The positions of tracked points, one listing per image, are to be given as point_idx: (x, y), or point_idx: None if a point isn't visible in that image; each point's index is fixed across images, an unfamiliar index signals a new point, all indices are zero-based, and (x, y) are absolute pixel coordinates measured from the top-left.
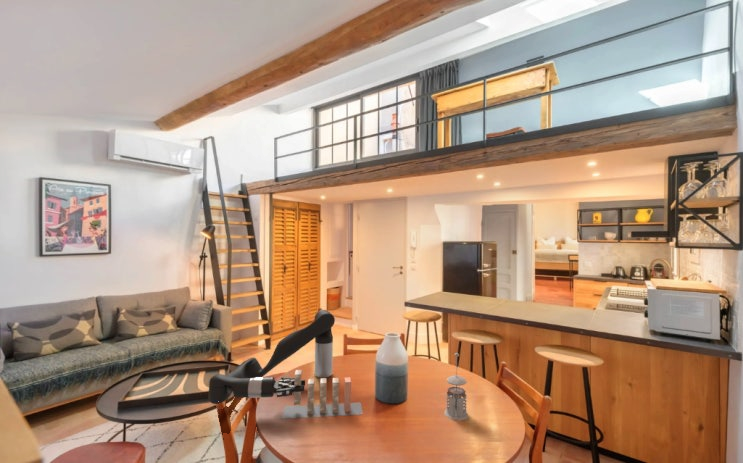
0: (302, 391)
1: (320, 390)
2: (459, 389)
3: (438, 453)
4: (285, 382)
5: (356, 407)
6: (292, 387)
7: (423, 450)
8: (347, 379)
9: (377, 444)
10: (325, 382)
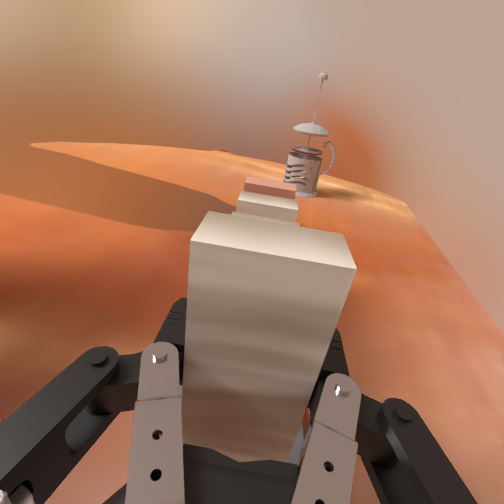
0: None
1: None
2: (300, 148)
3: (421, 234)
4: (193, 482)
5: None
6: (359, 399)
7: (419, 243)
8: (268, 183)
9: (424, 284)
10: (290, 223)
